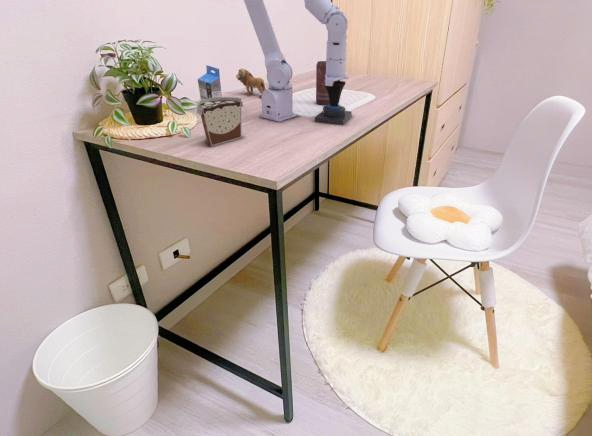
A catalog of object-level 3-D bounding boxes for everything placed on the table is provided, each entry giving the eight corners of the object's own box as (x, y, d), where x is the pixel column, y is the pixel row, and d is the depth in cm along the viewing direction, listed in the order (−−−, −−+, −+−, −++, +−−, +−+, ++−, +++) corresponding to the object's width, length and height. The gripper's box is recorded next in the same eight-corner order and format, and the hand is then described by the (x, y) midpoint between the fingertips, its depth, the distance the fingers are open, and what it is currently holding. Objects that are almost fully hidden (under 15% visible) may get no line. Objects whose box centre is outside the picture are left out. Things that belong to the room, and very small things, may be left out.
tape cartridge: (200, 104, 126) (194, 65, 119) (211, 102, 128) (206, 64, 122) (213, 110, 120) (208, 69, 114) (224, 108, 123) (219, 68, 116)
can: (333, 106, 131) (334, 63, 123) (315, 105, 131) (315, 62, 123) (333, 101, 136) (335, 61, 129) (316, 101, 136) (317, 60, 129)
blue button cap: (338, 114, 113) (338, 108, 112) (326, 113, 114) (326, 106, 113) (341, 111, 117) (342, 105, 116) (329, 109, 118) (329, 103, 117)
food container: (231, 131, 102) (227, 94, 97) (246, 136, 99) (242, 98, 94) (191, 141, 94) (185, 101, 89) (206, 147, 90) (200, 106, 85)
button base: (343, 125, 111) (343, 113, 109) (314, 122, 113) (314, 110, 111) (351, 116, 120) (352, 105, 118) (325, 113, 122) (325, 102, 120)
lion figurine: (235, 94, 141) (233, 68, 136) (244, 91, 145) (242, 67, 140) (266, 99, 135) (265, 73, 131) (275, 96, 139) (274, 71, 135)
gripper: (343, 63, 101) (340, 113, 108) (354, 57, 113) (352, 102, 120) (318, 61, 102) (317, 110, 109) (332, 55, 114) (331, 100, 121)
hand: (334, 106), depth 114 cm, fingers closed, pressing on blue button cap
